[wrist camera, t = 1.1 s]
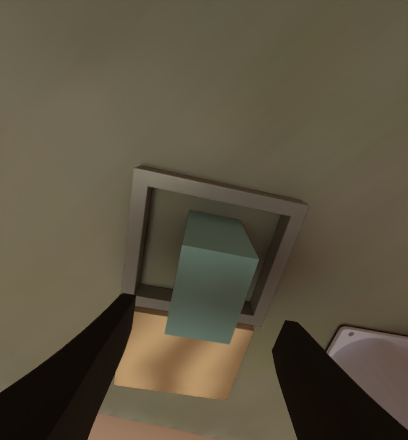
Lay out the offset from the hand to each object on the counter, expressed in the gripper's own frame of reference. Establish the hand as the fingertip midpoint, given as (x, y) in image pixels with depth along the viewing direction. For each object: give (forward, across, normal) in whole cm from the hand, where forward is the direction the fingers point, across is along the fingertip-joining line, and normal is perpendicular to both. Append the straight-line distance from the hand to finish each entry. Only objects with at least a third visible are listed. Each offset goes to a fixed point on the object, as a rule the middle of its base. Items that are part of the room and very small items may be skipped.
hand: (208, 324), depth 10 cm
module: (+8, 0, 0) cm, 8 cm away
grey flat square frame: (+8, 0, 0) cm, 8 cm away
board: (+8, 0, +12) cm, 14 cm away
